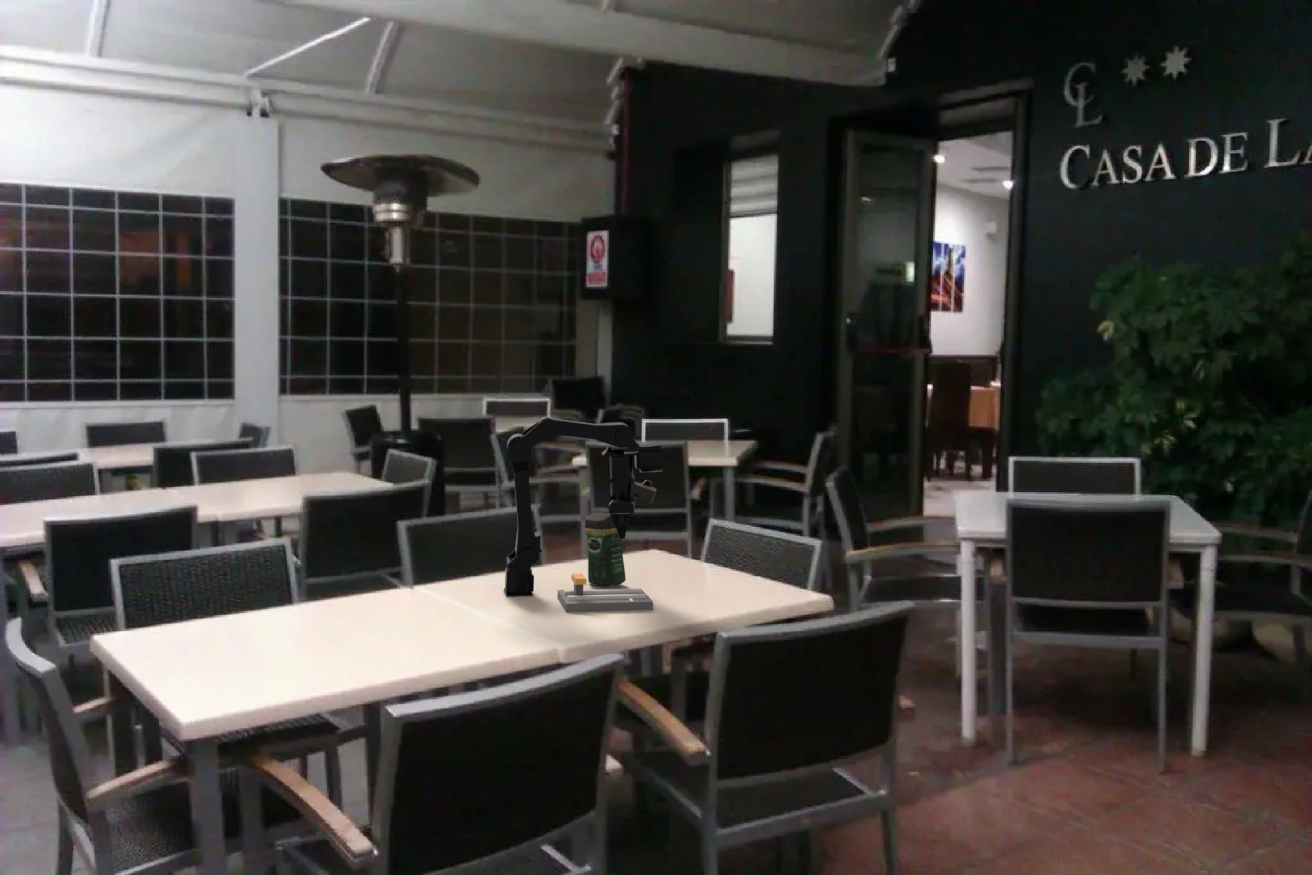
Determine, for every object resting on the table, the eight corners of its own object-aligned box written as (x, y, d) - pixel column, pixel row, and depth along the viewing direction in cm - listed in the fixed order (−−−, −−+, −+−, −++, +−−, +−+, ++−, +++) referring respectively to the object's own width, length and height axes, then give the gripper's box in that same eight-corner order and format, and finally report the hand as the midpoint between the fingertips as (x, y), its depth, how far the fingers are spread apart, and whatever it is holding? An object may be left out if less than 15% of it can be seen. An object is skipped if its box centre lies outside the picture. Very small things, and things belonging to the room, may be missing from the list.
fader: (575, 599, 267) (575, 578, 267) (571, 593, 273) (571, 573, 272) (585, 598, 268) (586, 578, 267) (581, 593, 273) (582, 573, 273)
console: (566, 612, 263) (566, 600, 263) (557, 598, 276) (557, 587, 276) (652, 609, 269) (653, 598, 268) (640, 596, 281) (640, 585, 281)
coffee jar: (631, 582, 291) (626, 511, 289) (609, 588, 285) (604, 516, 283) (605, 578, 298) (600, 509, 296) (583, 584, 292) (578, 514, 290)
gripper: (654, 479, 270) (655, 542, 272) (654, 466, 289) (655, 526, 291) (607, 480, 270) (609, 543, 272) (610, 467, 289) (612, 527, 291)
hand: (623, 534), depth 282 cm, fingers open, 8 cm apart
